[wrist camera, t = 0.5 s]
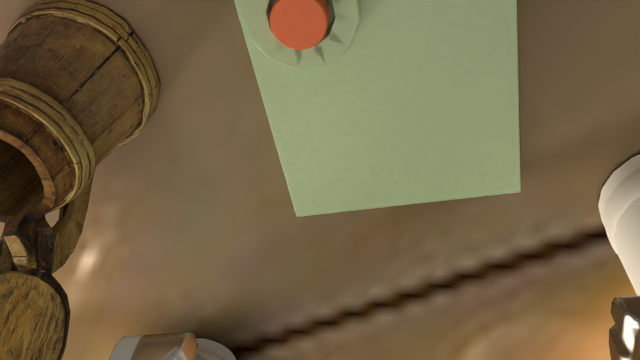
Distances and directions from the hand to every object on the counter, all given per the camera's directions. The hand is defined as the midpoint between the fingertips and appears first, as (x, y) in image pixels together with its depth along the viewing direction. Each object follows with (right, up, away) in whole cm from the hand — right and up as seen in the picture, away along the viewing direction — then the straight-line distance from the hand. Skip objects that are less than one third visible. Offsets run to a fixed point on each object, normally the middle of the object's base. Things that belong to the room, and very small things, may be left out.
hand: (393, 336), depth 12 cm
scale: (+2, +9, +23) cm, 25 cm away
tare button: (-2, +11, +18) cm, 21 cm away
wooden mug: (-15, +8, +26) cm, 31 cm away
